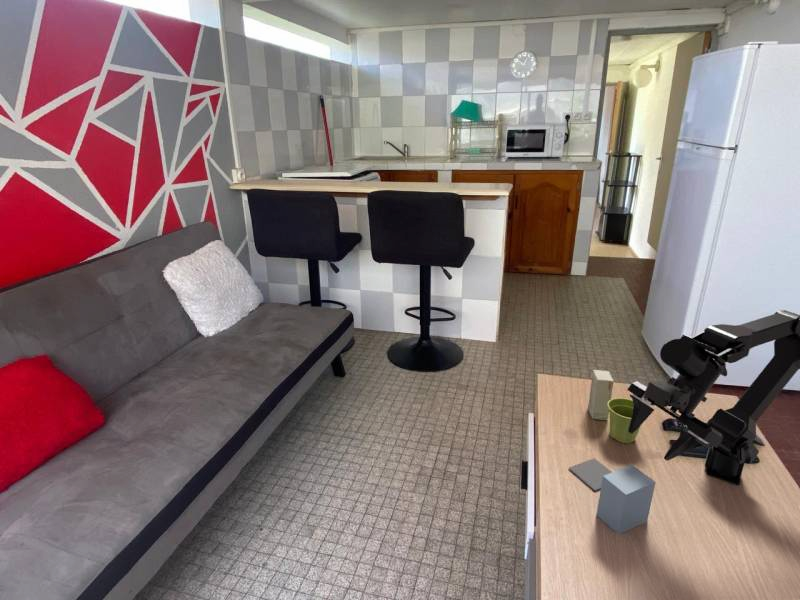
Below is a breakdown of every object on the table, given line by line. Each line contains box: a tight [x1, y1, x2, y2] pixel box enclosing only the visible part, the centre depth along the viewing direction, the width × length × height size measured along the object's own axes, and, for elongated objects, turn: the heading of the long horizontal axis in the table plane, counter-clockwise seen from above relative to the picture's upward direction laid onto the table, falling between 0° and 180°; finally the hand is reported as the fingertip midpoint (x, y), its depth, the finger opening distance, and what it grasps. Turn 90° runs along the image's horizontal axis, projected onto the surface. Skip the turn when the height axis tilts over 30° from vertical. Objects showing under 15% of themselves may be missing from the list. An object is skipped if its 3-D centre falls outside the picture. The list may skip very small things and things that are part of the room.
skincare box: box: [587, 369, 614, 421], centre depth 128 cm, size 6×4×12 cm
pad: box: [568, 457, 613, 492], centre depth 107 cm, size 8×8×1 cm
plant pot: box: [607, 397, 641, 444], centre depth 119 cm, size 9×9×9 cm
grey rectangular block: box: [596, 464, 656, 535], centre depth 94 cm, size 8×6×10 cm
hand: (646, 445), depth 95 cm, fingers open, 9 cm apart
